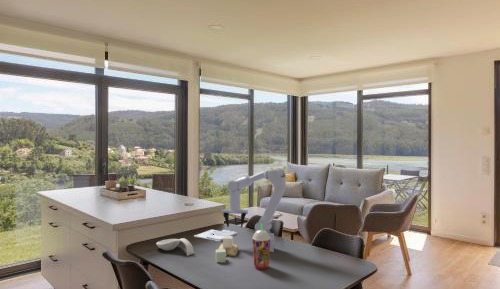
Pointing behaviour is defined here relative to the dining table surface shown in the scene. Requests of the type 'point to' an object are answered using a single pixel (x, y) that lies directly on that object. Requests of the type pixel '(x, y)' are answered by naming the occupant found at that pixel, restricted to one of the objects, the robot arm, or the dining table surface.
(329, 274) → the dining table surface
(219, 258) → the sage block
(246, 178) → the robot arm
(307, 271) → the dining table surface
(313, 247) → the dining table surface
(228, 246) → the cream block
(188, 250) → the spoon rest
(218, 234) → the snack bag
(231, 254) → the oak base
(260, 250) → the smoothie
